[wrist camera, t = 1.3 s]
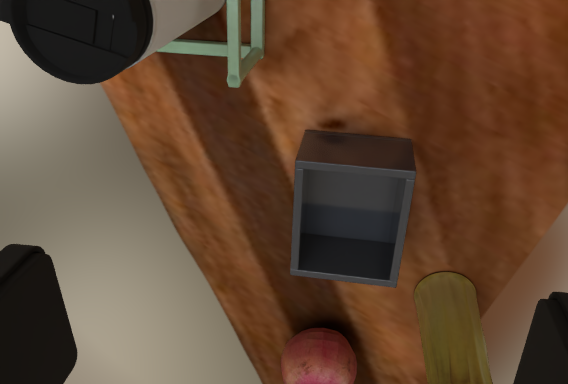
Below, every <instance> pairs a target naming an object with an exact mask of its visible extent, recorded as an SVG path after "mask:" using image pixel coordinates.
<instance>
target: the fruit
mask: <svg viewBox="0 0 568 384" xmlns="http://www.w3.org/2000/svg"><path fill="white" fill-rule="evenodd" d="M281 370H282V374H283V380H284V383H285V384H353V383H354V380H355V377H356V374H357V361H356V356H355V354H354V352H353V350H352V348H351V346H350V344H349V343H348V341H347V339H346V338H345V337H344V336H343V335H341V334H340V333H339V332H338V331H335V330H330V329H327V328H311V329H307V330H304V331H301V332H300V333H298V334H297V335H295V336H294V337H292V338H291V339H290V340H289V341H288V342H287V343H286V345H285V348H284V350H283V353H282V357H281Z"/></svg>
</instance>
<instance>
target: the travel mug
mask: <svg viewBox="0 0 568 384" xmlns="http://www.w3.org/2000/svg"><path fill="white" fill-rule="evenodd" d="M225 2H226V0H0V21H3V22H6V23H9V24H10V26H11V29H12V32H13V34H14V36H15V38H16V40H17V42H18V44H19V45H20V47H21V48H22V50H23V51H24V53H25V54H26V55H27V56H28V57H29V58H30V59H31V60H32V61H33V62H34V63H35V64H36V65H37V66H39V67H40V68H41V69H42V70H44V71H45V72H47V73H49V74H51V75H52V76H54V77H56V78H59V79H61V80H64V81H66V82H71V83H76V84H95V83H100V82H103V81H105V80H108V79H110V78H112V77H114V76H115V75H117V74H119V73H120V72H122V71H123V70H125V69H127V68H129V67H132V66H133V65H135V64H136V63H138V62H140V61H141V60H143V59H144V58H146V57H147V56H149V55H151V54H152V53H154V52H155V51H157V50H158V49H160V48H161V47H163V46H165V45H166V44H168V43H169V42H171V41H172V40H174V39H176V38H177V37H179V36H180V35H182V34H183V33H185V32H187V31H188V30H190V29H191V28H193V27H194V26H196V25H198V24H199V23H201V22H202V21H204V20H205V19H207V18H209V17H210V16H212V15H213V14H215V13H216V12H218V11H219V10H220V9H221V8H222V7H223V5H224V4H225Z"/></svg>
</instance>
